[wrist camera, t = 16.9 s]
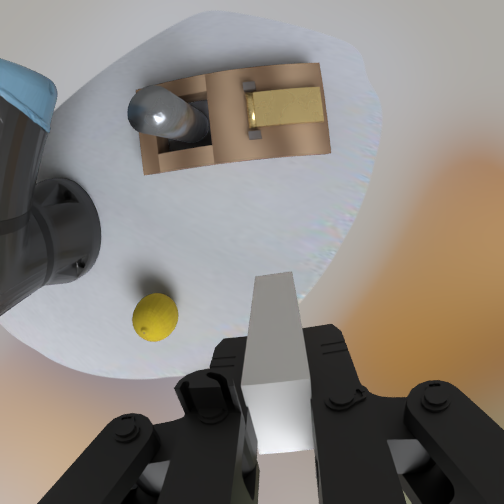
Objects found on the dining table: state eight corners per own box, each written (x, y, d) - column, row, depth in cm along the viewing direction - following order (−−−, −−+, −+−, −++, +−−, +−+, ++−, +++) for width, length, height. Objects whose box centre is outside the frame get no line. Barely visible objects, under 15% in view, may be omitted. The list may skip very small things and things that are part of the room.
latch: (250, 128, 29) (248, 127, 28) (246, 95, 28) (244, 93, 27) (323, 122, 28) (324, 121, 27) (318, 89, 27) (319, 86, 26)
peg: (178, 145, 34) (129, 138, 21) (174, 113, 33) (126, 92, 20) (210, 140, 33) (176, 128, 21) (207, 107, 32) (172, 80, 20)
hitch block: (156, 173, 35) (139, 175, 30) (149, 96, 32) (131, 88, 27) (324, 154, 33) (333, 152, 28) (314, 73, 30) (320, 59, 25)
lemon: (141, 288, 39) (115, 315, 32) (177, 280, 39) (156, 308, 31) (155, 323, 41) (134, 354, 33) (190, 317, 40) (173, 350, 32)
